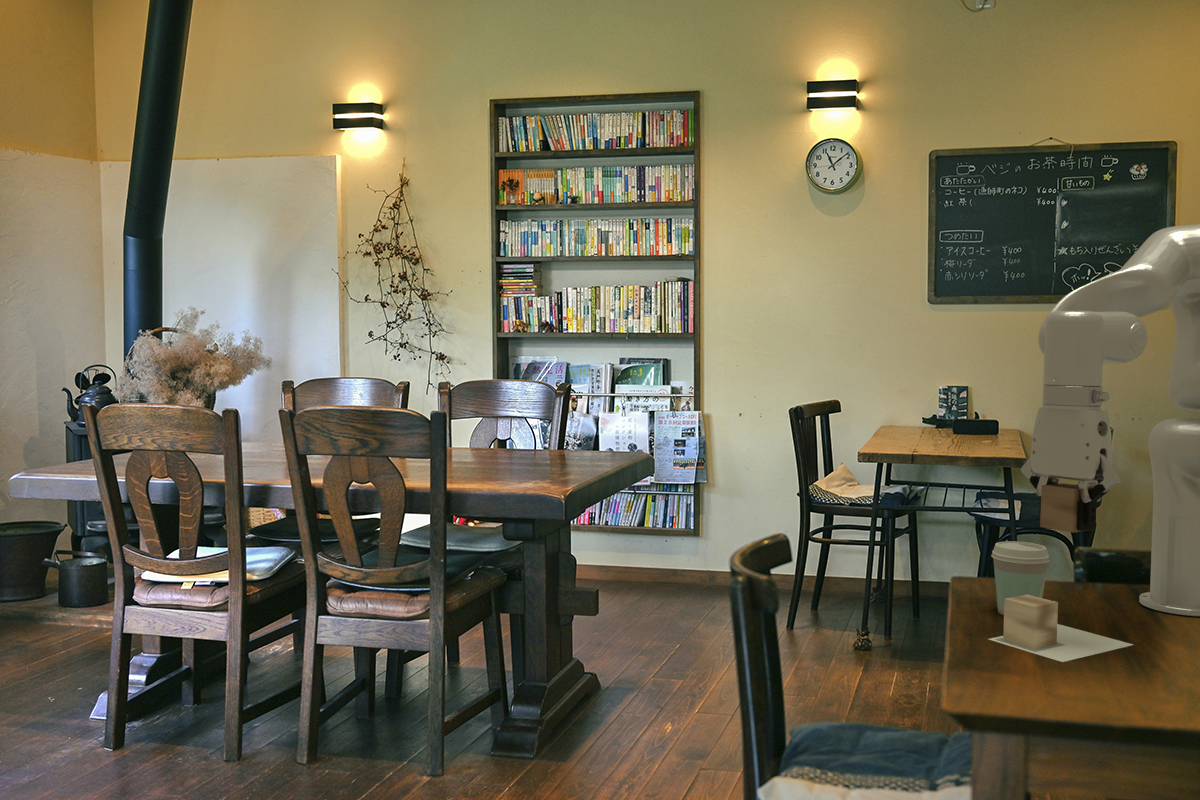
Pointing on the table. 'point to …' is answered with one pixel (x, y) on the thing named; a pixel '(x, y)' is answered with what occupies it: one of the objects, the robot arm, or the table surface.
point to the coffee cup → (1019, 570)
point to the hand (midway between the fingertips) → (1066, 525)
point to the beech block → (1030, 621)
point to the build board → (1071, 644)
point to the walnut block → (1060, 507)
